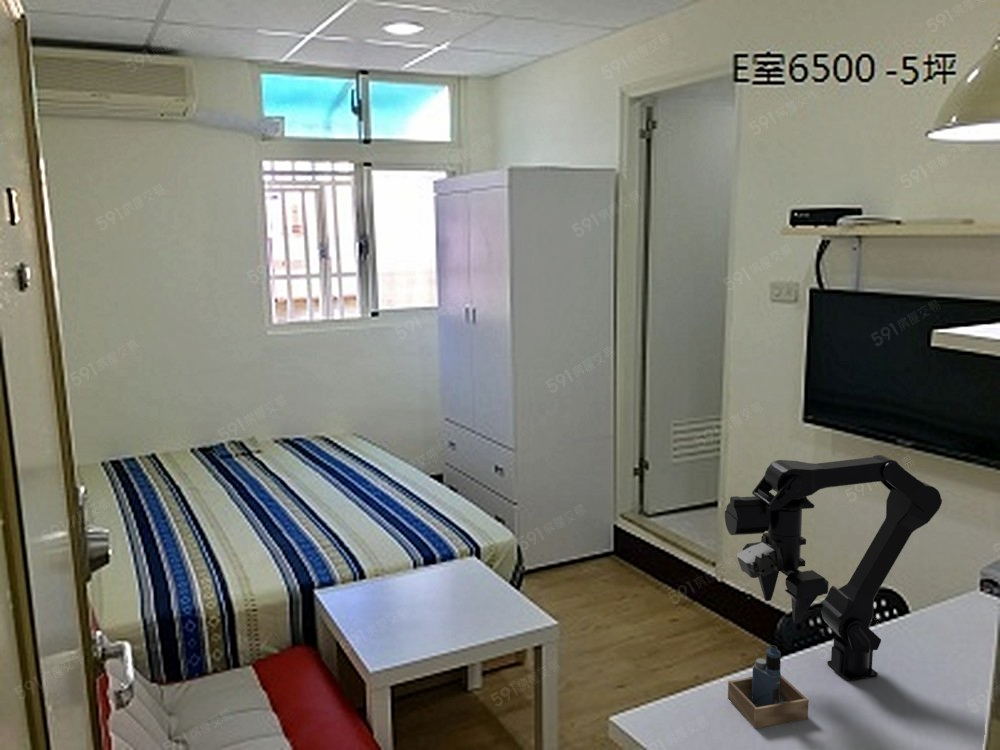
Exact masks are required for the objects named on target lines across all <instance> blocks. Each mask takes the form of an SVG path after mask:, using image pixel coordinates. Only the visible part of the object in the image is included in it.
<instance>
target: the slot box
mask: <svg viewBox="0 0 1000 750" xmlns="http://www.w3.org/2000/svg"><path fill="white" fill-rule="evenodd" d="M752 677H753V676H750V677H744V678H739V679H738V678H737V679H732V680H728V681H727V700H728V699H729V700H730V701H731V702H732V703H731V702H730V701H729V700H728V701H729V702H730V703H731V704H732V705H733V707H734V708H735V709H736V710H737V711H738V712H739V713H740V714H741V715H742V716H743V717H744V718H745V719H746V720H747V722H749V724H750V725H751V726H752V727H753V728H754V729H761V728H766V727H771V726H776V725H782V724H787V723H792V722H797V721H802V720H803V721H804V720H808V719H809V700H810V699H808V698H807V697H806V696H805V695H804V694H802V693H801V692H800V690H798V689H797V688H796V687H795V686H794V685H793V684H792V683H791V682H789V681H788V680H787V679H786V678H785V677H784V676H783V675H782V674H781V677H780V698H782V699H784V700H785V702H784V701H783V702H780V703H778V704H773V705H767V706H762V707H758V706H756V705H755V704H754V703H753V701H751V700H750V699H749V698H752Z"/></svg>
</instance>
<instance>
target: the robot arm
mask: <svg viewBox="0 0 1000 750" xmlns="http://www.w3.org/2000/svg"><path fill="white" fill-rule="evenodd" d="M878 482H880V484H882V485H883V486H884V487H885V488H886V489H888V491H889V493H888V496H887V499H886V505H885V510H886V511H885V519H884V521H883V522H882V524H881V525H880V527H879V529H878V531H877V532H876V534H875V536H874V537H873V539H872V541H871V542H870V545H869V546H868V548H867V550H866V552H865V553H864V555H863V557H862V558H861V560H860V562H859V563H858V565H857V567H856V569H855V571H854V572H853V574H852V576H851V577H850V579H849V580H848V582H847V583H845V584H844V585H843V586H841V587H839V588H838V587H836V586H835V585H831V586H830V588H829V585H830V583H829V581H828V580H827V579H826V578H825V577H824V576H822V575H821V574H820V573H818V572H816V571H814V570H813V569H812V570H811V569H810V570H805V571H804V570H803V571H801V570H799V568H801V567H806V560H805V559H804V558H801V552H802V550H801V549H802V546H804V545H807V539H806V538H805V537H803V536H802V525H803V524H802V521H803V520H802V519H803V510H804V509H805V510H806V509H814V508H815V504H814V503H813V502H812V501H810V499H808V497H809V496H812V495H814V494H815V493H817V492H818V491H820V490H823V489H828V488H836V487H843V486H844V487H846V486H851V485H861V484H869V483H870V484H871V483H878ZM771 491H774V492H775V493H776V494H775V495H774V494H773V493H771ZM751 494H752V495H753V496H737V495H736V496H731V497H729V503H727V505H726V508H725V510H724V523H725V527H726V530H727V532H728V534H729V535H731V536H739V535H740V536H744V535H757V534H760V535H761V534H762V535H761V540H760V541H759V542H751V543H750V542H749V543H746V544H745V546H744V547H743V548H742V550H741V551H739V552H737V554H736V557H737V561H738V564H739V567H740V570H741V572H744V573H745V574H747V576H748V577H750V578H752V579H755V578H756V579H757V578H758V582H759V584H760V588H761V591H762V595H763V598H764V601H765V602H769V601H772V598H773V596H774V592H775V590H776V589H775V588H776V584H777V581H778V577H779V574H780V573H782V574H783V575H785V576H786V578H785V586H786V589H784V592H785V593H787V594H788V595H789V596H790V598H791V614H792V621H793V623H794V624H799V623H801V621H802V620H803V618H804V617H805V615H806V614H807V612H808V610H809V609H810V607H811V606H812V605H813V603H814V601H816V599H817V598H818V597H819V596H823V595H826V596H825V598H824V599H823V600H822V601H821V603H820V604H822V607H821V609H820V610H821V611H820V613H821V617H822V619H823V622H825V623H826V624H827V625H828V626H829V629H830V630H831V631H832V632H833V633H835V635H836V637H833V646H831V653H830V656H831V658H830V660H828V661H827V663H826V664H827V665H828V666H829V667H830V668H831V669H833V670H834V671H835V672H836V673H838V674H839V675H840V676H841V677H843V679H845V680H846V681H852V682H853V681H858V680H862V679H868V678H873V677H878V675H879V673H878V672H877V671H876V670H875V669H873V657H874V655H873V654H874V651H877V650H879V647H880V645H881V644H882V643H881V642H882V639H881V638H880V637H879V636H878V635H877V634H876V633H875V632H874V631H873V630H871V629H870V625H871V623H872V621H873V618H874V600H875V597H876V595H877V594H878V592H879V590H880V588H881V586H883V583H884V582H885V579H886V578H887V576H888V575H889V573H890V571H891V570H892V568H893V566H894V565H895V563H896V561H897V559H898V558H899V556H900V555H901V553H902V551H903V549H904V547H905V546H906V544H907V542H908V540H909V539H910V537H911V535H913V533H914V532H915V531H916V530H918V529H920V528H923V526H925V525H927V524H928V523H929V522H930V521H931V520H932V519H933V518H934V516H935V515H936V514H937V512H938V511H939V510H940V508H941V506H942V504H943V499H942V497H941V493H940V491H939V490H938V489H937V488H936V487H934V486H932V485H930V484H928V483H926V482H923V481H922V480H919V479H918V478H917V477H915V476H914V475H912V474H911V473H910V472H908V471H907V470H906V469H905V468H903V466H901V465H900V463H898V461H896V460H894V459H892V458H889V457H888V456H885V455H883V454H878V455H874V456H872V457H861V458H860V457H859V458H854V459H853V458H852V459H846V460H845V459H844V460H837V461H827V462H819V463H818V462H817V463H812V462H811V463H810V462H804V461H799V460H788V459H787V460H785V459H779V460H774V461H772V462H770V464H769V465H768V467H767V468H766V470H765V472H764V475H763V477H762V479H760V481H759V482H758V484H757V485H756V486H755V488H754V489H753V490H752V492H751Z"/></svg>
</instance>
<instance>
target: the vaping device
mask: <svg viewBox="0 0 1000 750" xmlns="http://www.w3.org/2000/svg"><path fill="white" fill-rule="evenodd" d="M765 655H766V656H765V657H766V658H763V657H759V658H756V659H755V662H754V664H753V667H752V676H751V677H752V697H751V699H752V703H753V704H754V705H755V706H756V707H762V706H767V705H773V704H778V703H781V702H780V701H781V696H780V677H781V675H782V674H781V663H782V662H781V661H782V659H781V658H782V656H781V655H782V652H781V651H780V650H779V649H778V646H776V645H773V644H772V645H770V648H767V649H766V654H765Z"/></svg>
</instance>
